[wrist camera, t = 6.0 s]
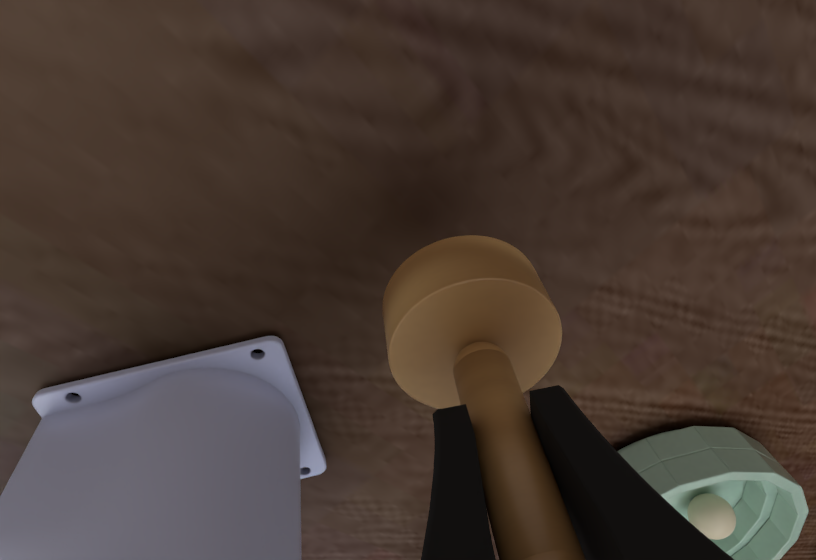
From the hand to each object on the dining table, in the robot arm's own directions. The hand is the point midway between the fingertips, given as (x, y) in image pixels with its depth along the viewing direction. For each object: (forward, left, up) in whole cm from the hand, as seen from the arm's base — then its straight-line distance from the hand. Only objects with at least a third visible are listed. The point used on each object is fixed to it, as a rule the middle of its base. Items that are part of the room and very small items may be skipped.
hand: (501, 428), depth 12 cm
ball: (+14, -21, -8) cm, 26 cm away
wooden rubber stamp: (0, 0, -4) cm, 4 cm away
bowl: (+11, -21, -10) cm, 26 cm away
